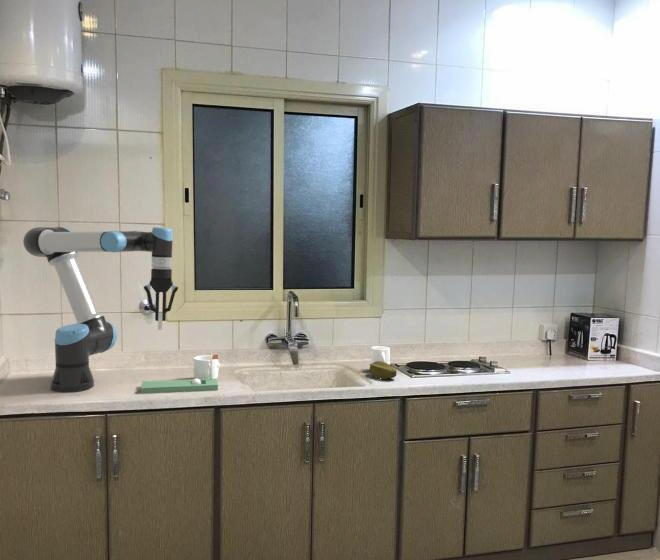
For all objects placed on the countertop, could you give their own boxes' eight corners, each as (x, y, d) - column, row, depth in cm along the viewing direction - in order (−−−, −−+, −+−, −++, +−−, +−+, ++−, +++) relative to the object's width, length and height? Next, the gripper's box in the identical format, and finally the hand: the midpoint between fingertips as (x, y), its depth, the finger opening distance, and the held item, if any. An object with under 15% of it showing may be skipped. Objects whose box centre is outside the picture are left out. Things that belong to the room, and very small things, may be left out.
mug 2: (392, 374, 259) (393, 351, 258) (373, 374, 258) (374, 351, 257) (387, 368, 271) (388, 346, 270) (369, 368, 270) (370, 346, 269)
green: (141, 393, 221) (140, 361, 220) (142, 386, 230) (142, 355, 229) (219, 389, 228) (219, 359, 227) (217, 383, 238) (217, 353, 237)
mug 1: (224, 382, 240) (224, 360, 239) (198, 385, 235) (198, 362, 234) (215, 375, 250) (215, 354, 249) (191, 378, 245) (191, 356, 245)
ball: (189, 382, 228) (198, 378, 229) (189, 380, 231) (198, 375, 232) (194, 390, 229) (202, 386, 229) (193, 388, 232) (202, 383, 233)
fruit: (369, 380, 248) (369, 364, 248) (369, 373, 260) (369, 358, 260) (396, 381, 248) (397, 365, 247) (395, 374, 260) (396, 359, 259)
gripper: (143, 268, 222) (141, 330, 224) (179, 269, 225) (177, 331, 227) (144, 266, 229) (143, 327, 232) (179, 267, 233) (177, 327, 235)
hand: (160, 329), depth 230 cm, fingers closed
